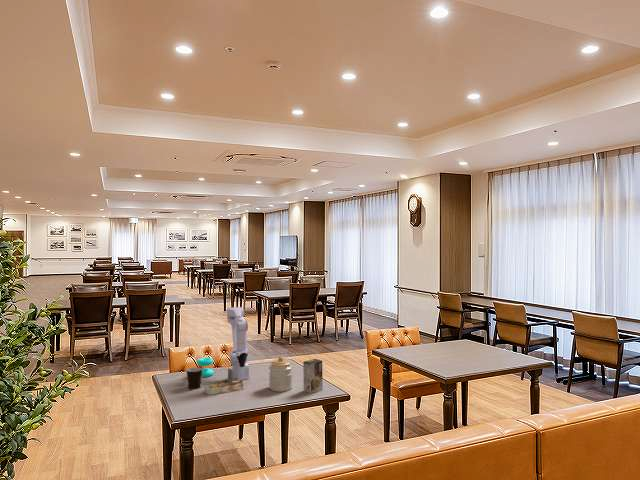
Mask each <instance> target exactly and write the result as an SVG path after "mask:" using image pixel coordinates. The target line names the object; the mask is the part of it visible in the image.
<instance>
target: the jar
mask: <svg viewBox="0 0 640 480" xmlns="http://www.w3.org/2000/svg"><path fill="white" fill-rule="evenodd" d="M291 363H292V362H291V361H289V359H285V358H284V357H283V356H279V357H278V358H277V359H274V360H272V361H271V362H270V366H269V367H268V368H269V372H268V375H269V377H268V378H269V381H268V382H269V383H268V387H269V390H270V391H273V392H278V393H279V392H281V393H282V392H288V391H290V390H292V388H293V371H292V368H293V366H292V364H291Z"/></svg>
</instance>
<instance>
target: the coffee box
mask: <svg viewBox="0 0 640 480" xmlns="http://www.w3.org/2000/svg"><path fill="white" fill-rule="evenodd" d="M302 363H303V365H302V366H303V392H307V393H310V394H313V393H315V392H316V393H317V392H319V391H322V390H323V389H324V388H323V387H324V386H323V383H324V382H323V360H320V359H319V358H313V359H308V360H305V361H303V362H302Z"/></svg>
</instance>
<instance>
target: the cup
mask: <svg viewBox="0 0 640 480" xmlns="http://www.w3.org/2000/svg"><path fill="white" fill-rule="evenodd" d="M215 384H216V383H214V384H209V385H205V386H204V392H205V393H206V394H207V395H209V396H211V395H212V396H213V395H216V394H222V393H221V387H218V388H213V389H212V386H213V385H215ZM216 385H217V384H216Z"/></svg>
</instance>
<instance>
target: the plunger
mask: <svg viewBox="0 0 640 480" xmlns="http://www.w3.org/2000/svg"><path fill="white" fill-rule="evenodd" d="M224 380H225V383H231V382H232V381H234V370H232V368H227V378H225V379H224Z"/></svg>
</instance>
